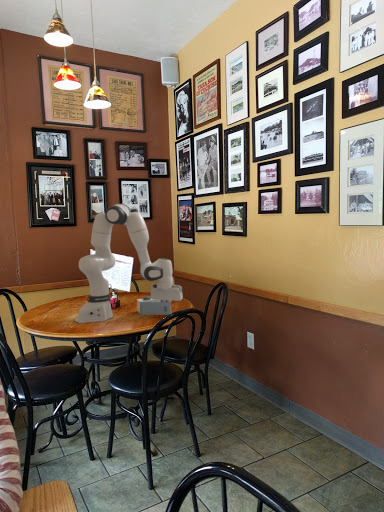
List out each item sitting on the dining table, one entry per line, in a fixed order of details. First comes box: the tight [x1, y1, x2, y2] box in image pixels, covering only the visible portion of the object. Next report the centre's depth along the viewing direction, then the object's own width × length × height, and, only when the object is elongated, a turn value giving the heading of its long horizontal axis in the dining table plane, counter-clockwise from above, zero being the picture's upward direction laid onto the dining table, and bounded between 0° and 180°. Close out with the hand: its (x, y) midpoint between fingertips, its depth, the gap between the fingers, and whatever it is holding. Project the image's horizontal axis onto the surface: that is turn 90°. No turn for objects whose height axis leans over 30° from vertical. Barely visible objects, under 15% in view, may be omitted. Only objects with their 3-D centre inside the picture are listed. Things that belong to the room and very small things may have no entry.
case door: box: [140, 301, 172, 316], centre depth 216 cm, size 20×2×8 cm, turn 77°
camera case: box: [136, 295, 161, 315], centre depth 226 cm, size 13×8×10 cm, turn 114°
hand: (167, 307), depth 216 cm, fingers closed
